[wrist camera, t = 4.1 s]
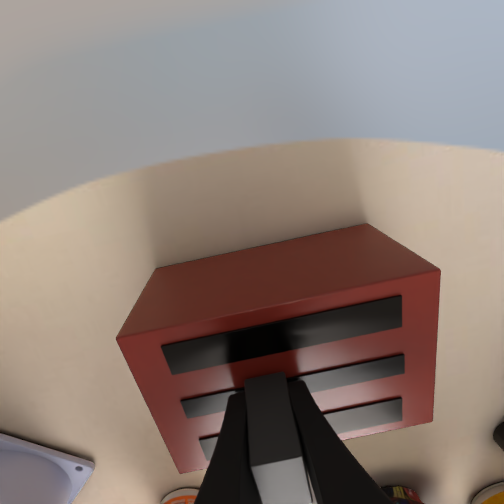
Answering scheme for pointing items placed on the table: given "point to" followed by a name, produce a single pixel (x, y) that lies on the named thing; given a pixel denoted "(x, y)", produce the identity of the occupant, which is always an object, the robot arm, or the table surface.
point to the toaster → (288, 335)
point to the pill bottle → (181, 497)
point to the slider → (275, 442)
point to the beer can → (490, 495)
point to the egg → (402, 495)
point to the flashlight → (499, 436)
